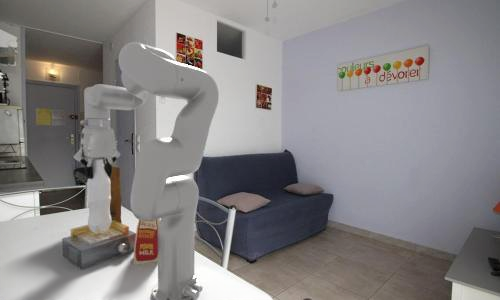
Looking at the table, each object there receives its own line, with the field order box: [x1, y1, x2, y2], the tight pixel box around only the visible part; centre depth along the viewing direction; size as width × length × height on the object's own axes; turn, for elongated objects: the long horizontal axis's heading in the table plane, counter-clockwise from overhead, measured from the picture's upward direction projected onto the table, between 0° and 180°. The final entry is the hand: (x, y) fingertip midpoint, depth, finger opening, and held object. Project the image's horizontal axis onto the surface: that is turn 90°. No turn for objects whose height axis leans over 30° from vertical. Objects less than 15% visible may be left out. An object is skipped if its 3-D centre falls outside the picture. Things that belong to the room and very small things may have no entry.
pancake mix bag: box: [91, 164, 123, 224], centre depth 113 cm, size 7×19×28 cm, turn 63°
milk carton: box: [133, 218, 161, 265], centre depth 90 cm, size 9×9×20 cm
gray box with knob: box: [61, 220, 136, 270], centre depth 92 cm, size 18×18×9 cm
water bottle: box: [86, 158, 111, 233], centre depth 92 cm, size 7×7×25 cm
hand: (99, 176), depth 91 cm, fingers closed on water bottle, 5 cm apart
